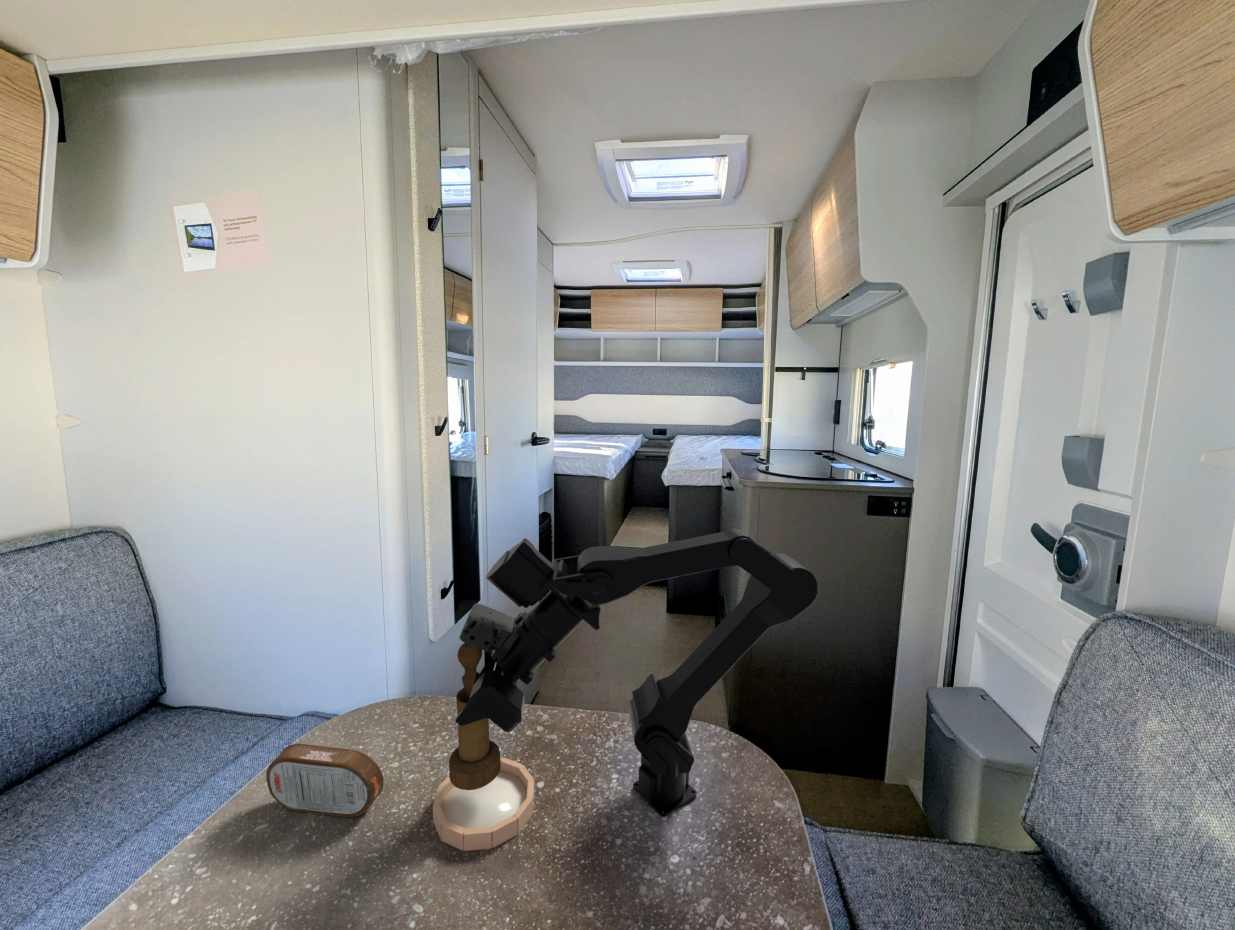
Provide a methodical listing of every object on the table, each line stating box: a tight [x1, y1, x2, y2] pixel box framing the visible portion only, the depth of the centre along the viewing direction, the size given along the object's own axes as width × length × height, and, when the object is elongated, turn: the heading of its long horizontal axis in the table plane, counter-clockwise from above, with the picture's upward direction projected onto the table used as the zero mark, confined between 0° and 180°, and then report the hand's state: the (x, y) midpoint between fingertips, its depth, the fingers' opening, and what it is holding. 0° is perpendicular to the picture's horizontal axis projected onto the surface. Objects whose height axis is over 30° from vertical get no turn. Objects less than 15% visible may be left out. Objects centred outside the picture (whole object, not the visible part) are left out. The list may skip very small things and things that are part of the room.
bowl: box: [432, 757, 535, 852], centre depth 66 cm, size 13×13×2 cm
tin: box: [265, 742, 385, 818], centre depth 65 cm, size 15×3×8 cm, turn 83°
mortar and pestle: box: [448, 642, 501, 790], centre depth 65 cm, size 7×6×18 cm
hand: (461, 712), depth 65 cm, fingers closed on mortar and pestle, 4 cm apart
